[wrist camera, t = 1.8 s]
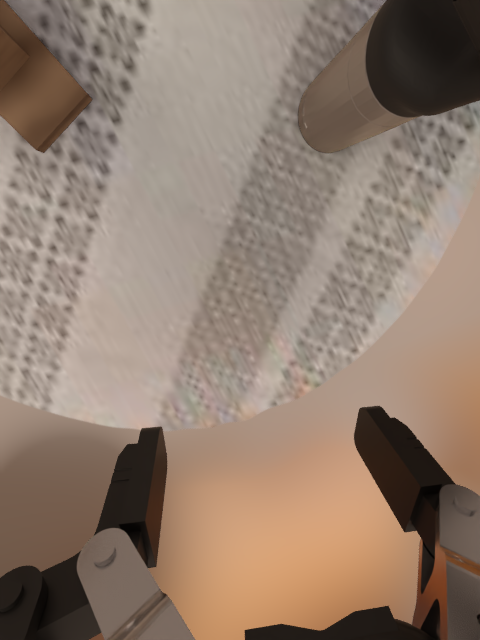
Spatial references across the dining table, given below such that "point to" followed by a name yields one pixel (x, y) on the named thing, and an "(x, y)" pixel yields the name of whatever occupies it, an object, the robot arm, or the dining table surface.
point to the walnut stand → (34, 85)
